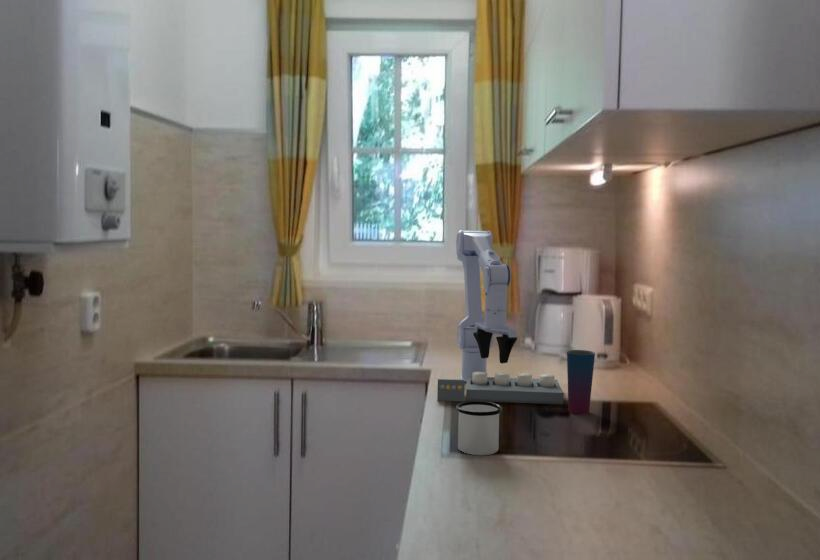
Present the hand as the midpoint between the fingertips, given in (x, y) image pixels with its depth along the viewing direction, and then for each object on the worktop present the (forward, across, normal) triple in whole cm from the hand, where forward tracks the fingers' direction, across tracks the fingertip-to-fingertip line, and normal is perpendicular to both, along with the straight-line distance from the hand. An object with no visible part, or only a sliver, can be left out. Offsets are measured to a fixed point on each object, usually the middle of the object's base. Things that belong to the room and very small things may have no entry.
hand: (494, 360), depth 200 cm
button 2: (+8, -1, +4) cm, 9 cm away
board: (+10, +2, +6) cm, 12 cm away
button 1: (+8, -5, -1) cm, 9 cm away
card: (+10, -2, -12) cm, 16 cm away
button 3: (+8, +3, +8) cm, 12 cm away
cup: (+10, +23, +8) cm, 26 cm away
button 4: (+8, +7, +13) cm, 17 cm away
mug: (+10, +32, -32) cm, 47 cm away
